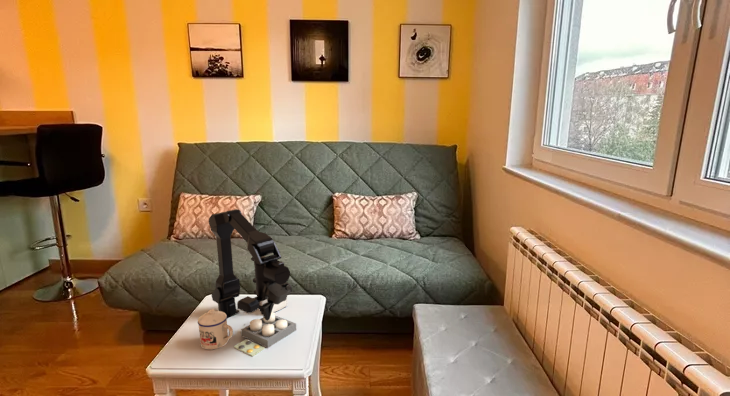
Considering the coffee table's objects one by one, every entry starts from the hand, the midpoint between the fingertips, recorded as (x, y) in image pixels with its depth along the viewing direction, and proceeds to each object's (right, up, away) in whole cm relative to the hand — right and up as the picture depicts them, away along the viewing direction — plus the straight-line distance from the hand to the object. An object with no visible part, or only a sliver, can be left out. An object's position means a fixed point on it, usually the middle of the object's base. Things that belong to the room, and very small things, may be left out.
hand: (267, 319), depth 134 cm
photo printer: (-2, -3, +22) cm, 22 cm away
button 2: (0, -5, +1) cm, 5 cm away
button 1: (-5, -4, +4) cm, 8 cm away
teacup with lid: (-16, -8, 0) cm, 18 cm away
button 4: (+4, -5, +6) cm, 9 cm away
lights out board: (-2, -7, +3) cm, 8 cm away
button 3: (-1, -3, +9) cm, 10 cm away
